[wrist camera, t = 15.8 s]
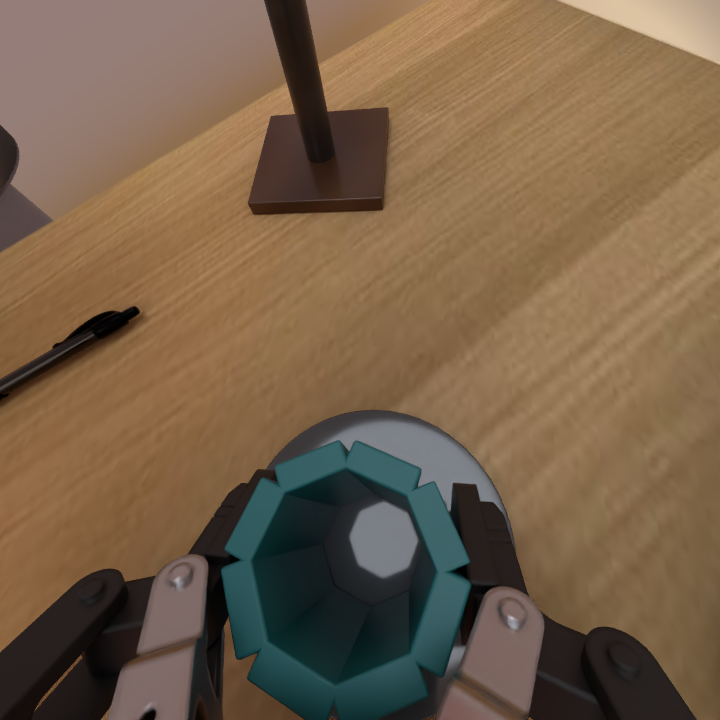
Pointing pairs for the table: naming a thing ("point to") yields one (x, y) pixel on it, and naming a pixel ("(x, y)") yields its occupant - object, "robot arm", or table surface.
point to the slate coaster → (391, 517)
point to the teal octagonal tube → (333, 606)
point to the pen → (68, 347)
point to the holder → (316, 136)
